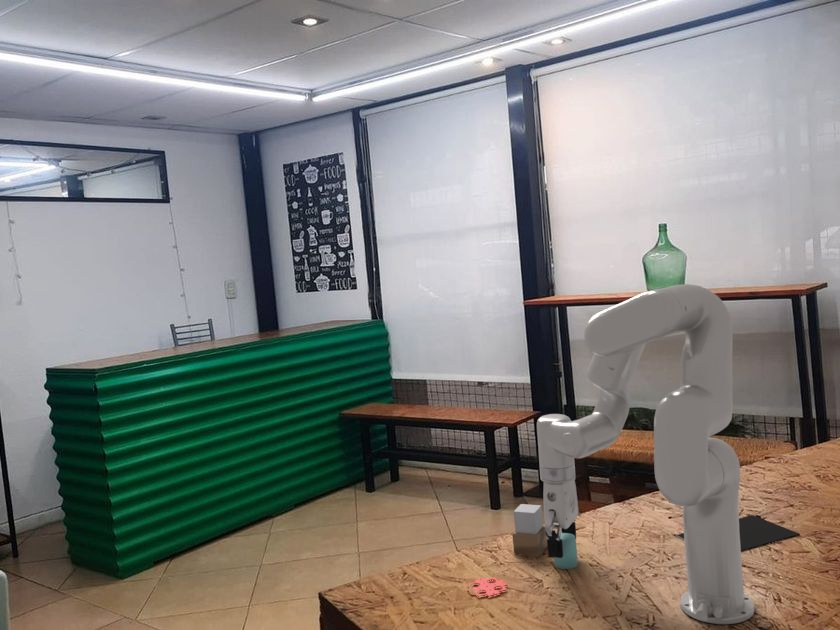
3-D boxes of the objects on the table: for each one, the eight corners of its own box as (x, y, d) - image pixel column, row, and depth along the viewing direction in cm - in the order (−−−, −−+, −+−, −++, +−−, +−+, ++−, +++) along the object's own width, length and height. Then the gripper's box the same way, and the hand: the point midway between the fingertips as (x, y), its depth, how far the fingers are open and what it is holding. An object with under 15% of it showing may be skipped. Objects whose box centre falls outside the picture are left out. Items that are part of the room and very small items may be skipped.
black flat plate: (801, 538, 161) (750, 517, 175) (801, 532, 161) (749, 511, 175) (719, 561, 153) (672, 537, 168) (719, 555, 153) (672, 531, 167)
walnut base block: (539, 557, 163) (537, 535, 163) (514, 554, 166) (512, 533, 166) (547, 546, 168) (545, 526, 168) (523, 544, 171) (521, 523, 171)
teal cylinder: (574, 570, 155) (571, 543, 154) (551, 567, 157) (549, 540, 157) (580, 560, 159) (578, 534, 158) (558, 558, 161) (556, 532, 161)
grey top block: (536, 534, 163) (534, 513, 163) (515, 532, 166) (513, 511, 166) (543, 526, 168) (541, 505, 168) (523, 524, 170) (521, 503, 170)
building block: (475, 598, 145) (512, 589, 147) (462, 583, 152) (497, 574, 155) (476, 602, 145) (512, 593, 147) (462, 586, 153) (497, 578, 155)
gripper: (562, 486, 147) (567, 566, 149) (585, 461, 162) (590, 534, 164) (527, 483, 151) (532, 561, 152) (553, 459, 166) (558, 530, 167)
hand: (562, 547), depth 158 cm, fingers open, 9 cm apart
